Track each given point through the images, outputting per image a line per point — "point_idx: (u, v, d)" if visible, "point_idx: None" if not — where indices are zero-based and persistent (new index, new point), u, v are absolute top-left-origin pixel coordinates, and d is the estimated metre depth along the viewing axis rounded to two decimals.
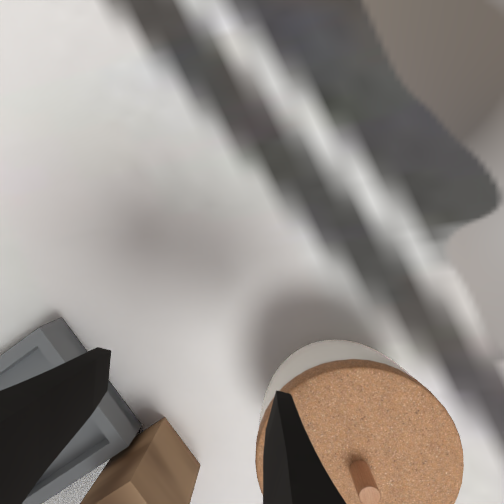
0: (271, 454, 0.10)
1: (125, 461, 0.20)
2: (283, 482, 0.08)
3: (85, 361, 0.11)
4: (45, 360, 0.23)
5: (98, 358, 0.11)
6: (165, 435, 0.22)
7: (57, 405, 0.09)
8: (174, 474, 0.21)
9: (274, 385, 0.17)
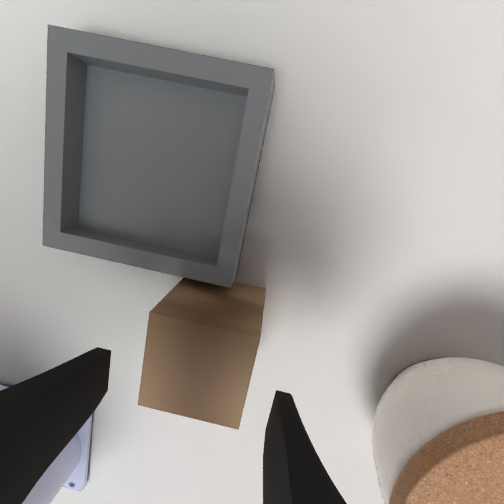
0: (271, 454, 0.10)
1: (223, 301, 0.15)
2: (283, 482, 0.08)
3: (85, 361, 0.11)
4: (218, 114, 0.15)
5: (98, 358, 0.11)
6: None
7: (57, 405, 0.09)
8: None
9: (498, 388, 0.13)
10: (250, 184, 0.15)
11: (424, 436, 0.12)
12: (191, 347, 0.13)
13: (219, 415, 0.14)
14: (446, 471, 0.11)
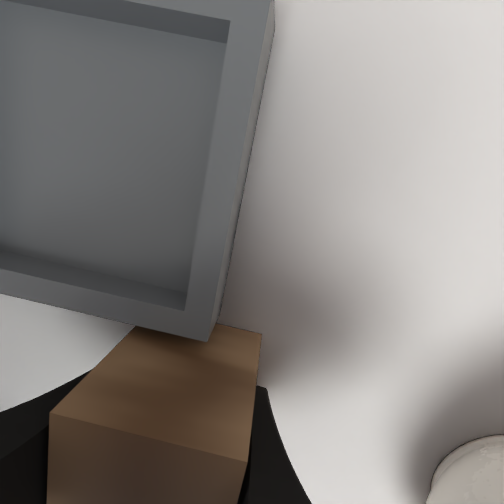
0: None
1: (193, 368, 0.10)
2: (247, 473, 0.08)
3: None
4: (186, 73, 0.10)
5: None
6: None
7: None
8: None
9: None
10: (235, 183, 0.09)
11: None
12: (126, 472, 0.07)
13: None
14: None
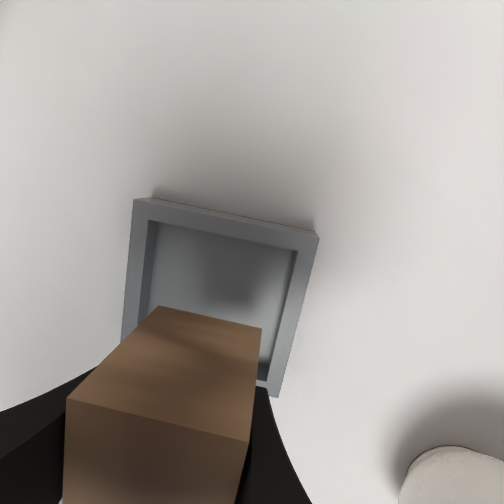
0: None
1: (197, 359, 0.10)
2: (247, 473, 0.08)
3: None
4: (268, 256, 0.18)
5: None
6: None
7: None
8: None
9: None
10: (297, 320, 0.18)
11: None
12: (136, 453, 0.08)
13: None
14: None
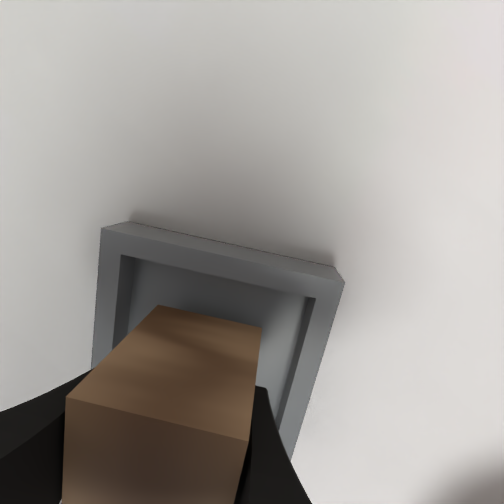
0: None
1: (197, 359, 0.10)
2: (247, 473, 0.08)
3: None
4: (275, 299, 0.14)
5: None
6: None
7: None
8: None
9: None
10: (312, 383, 0.14)
11: None
12: (136, 452, 0.08)
13: None
14: None
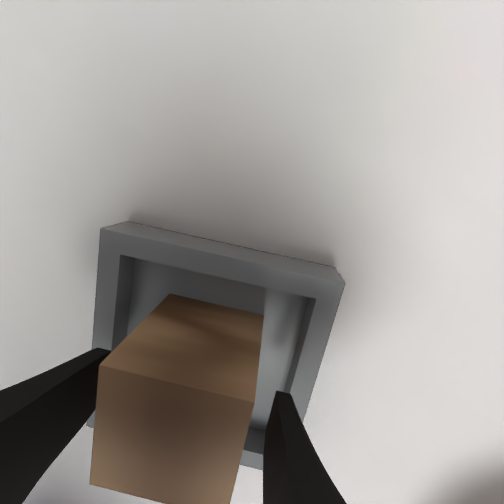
0: (271, 454, 0.10)
1: (208, 339, 0.12)
2: (283, 482, 0.08)
3: (85, 361, 0.11)
4: (275, 300, 0.14)
5: (98, 358, 0.11)
6: None
7: (57, 405, 0.09)
8: None
9: None
10: (312, 384, 0.14)
11: None
12: (158, 413, 0.09)
13: (199, 501, 0.10)
14: None
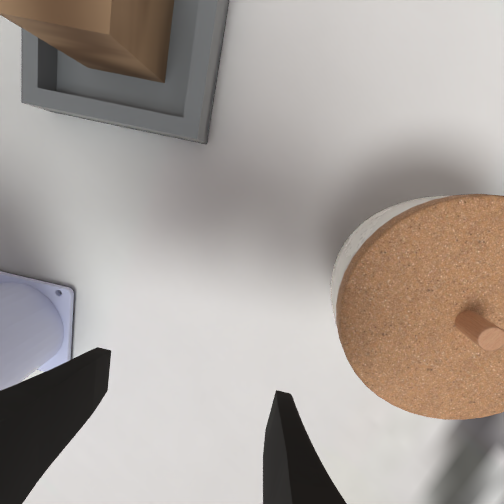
0: (271, 454, 0.10)
1: None
2: (283, 482, 0.08)
3: (85, 361, 0.11)
4: None
5: (98, 358, 0.11)
6: None
7: (57, 405, 0.09)
8: (147, 17, 0.14)
9: (436, 196, 0.14)
10: (212, 29, 0.16)
11: (366, 238, 0.13)
12: None
13: (86, 15, 0.12)
14: (380, 248, 0.12)
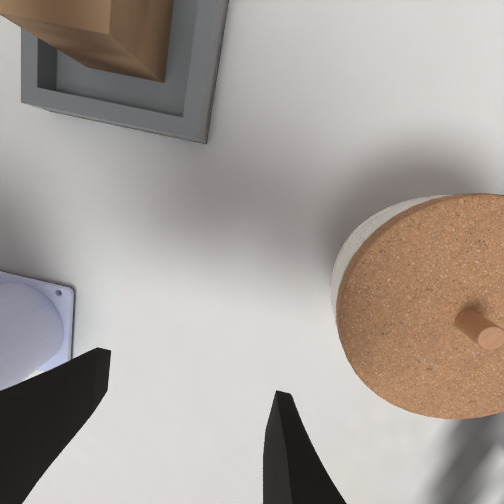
0: (271, 454, 0.10)
1: None
2: (283, 482, 0.08)
3: (85, 361, 0.11)
4: None
5: (98, 358, 0.11)
6: None
7: (57, 405, 0.09)
8: (146, 17, 0.14)
9: (436, 196, 0.14)
10: (212, 29, 0.16)
11: (366, 237, 0.13)
12: None
13: (86, 15, 0.12)
14: (380, 248, 0.12)
